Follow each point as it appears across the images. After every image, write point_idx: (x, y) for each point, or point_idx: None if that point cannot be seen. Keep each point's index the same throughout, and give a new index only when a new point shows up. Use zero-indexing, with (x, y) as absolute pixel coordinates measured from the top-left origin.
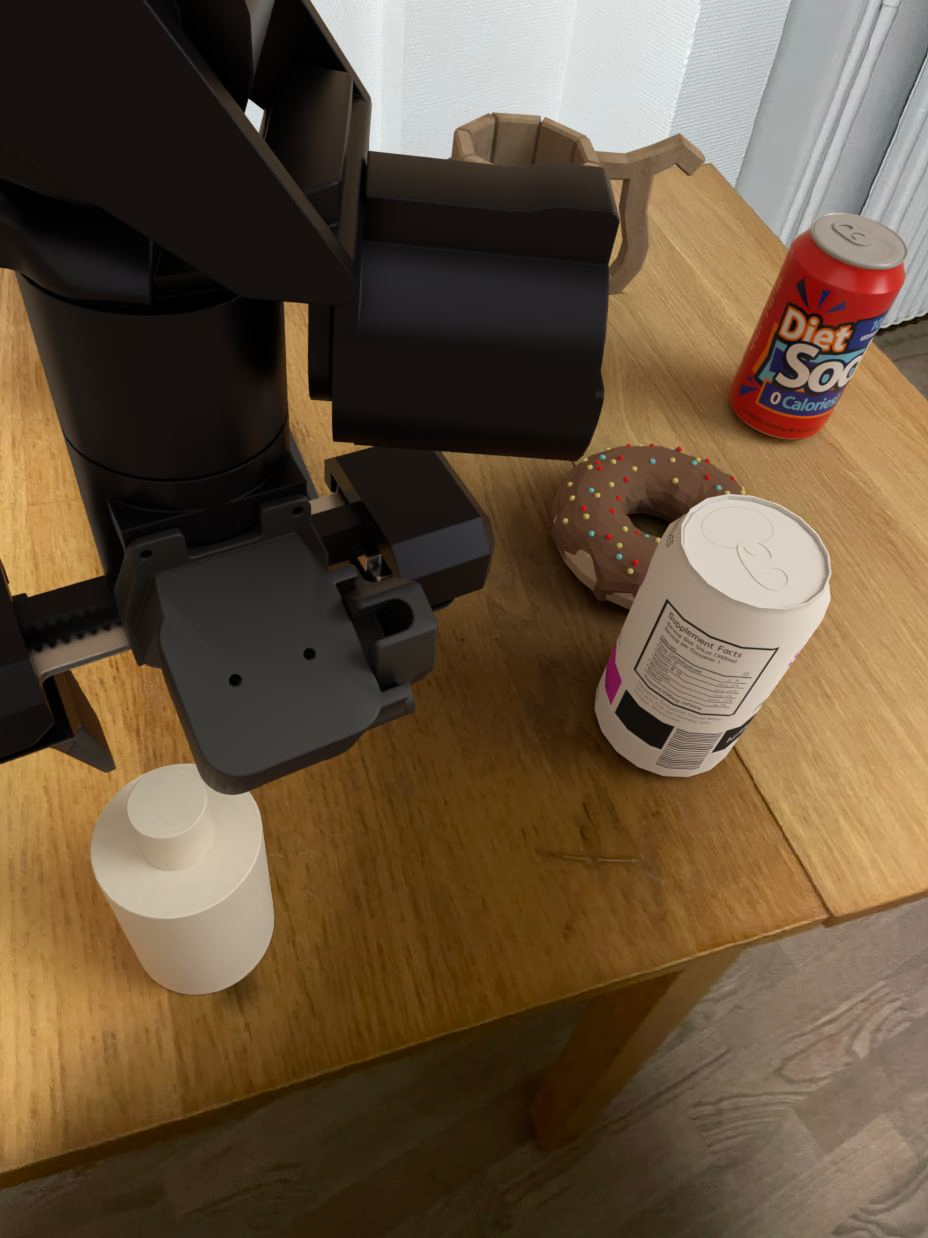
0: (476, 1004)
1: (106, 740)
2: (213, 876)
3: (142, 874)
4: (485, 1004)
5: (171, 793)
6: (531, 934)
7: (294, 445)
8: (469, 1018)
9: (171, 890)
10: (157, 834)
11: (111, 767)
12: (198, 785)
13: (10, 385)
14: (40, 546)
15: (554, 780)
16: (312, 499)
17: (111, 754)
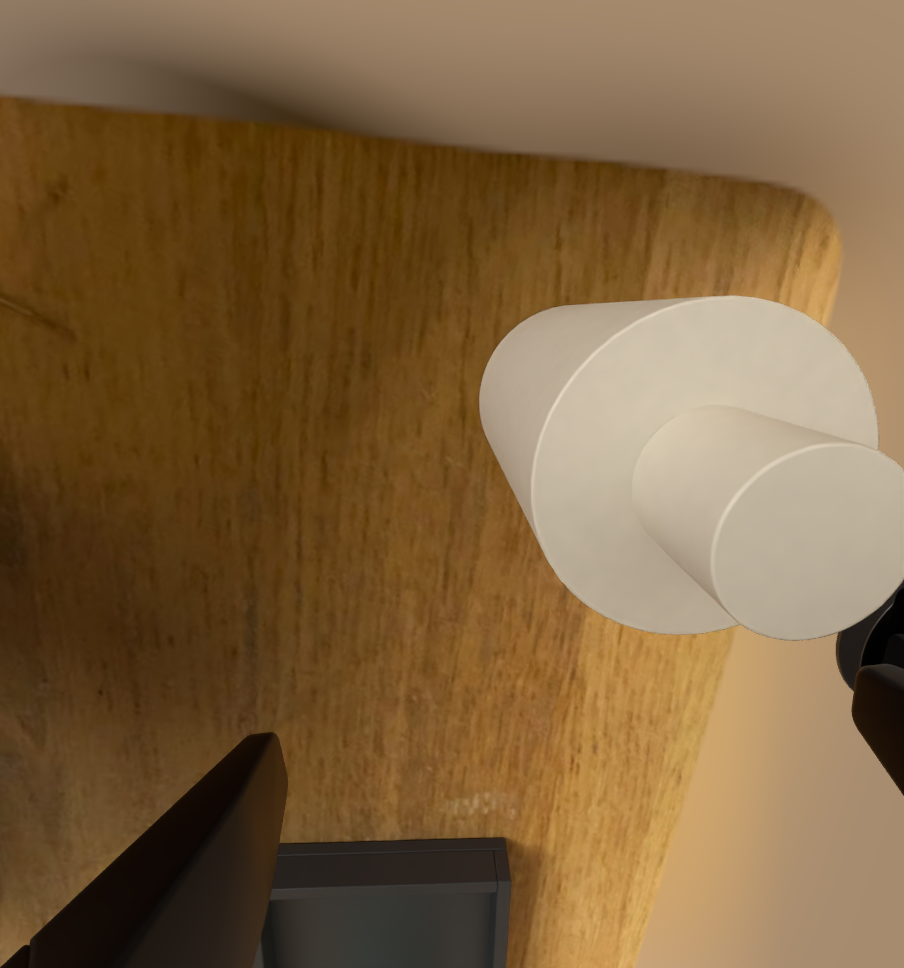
0: (238, 139)
1: (889, 749)
2: (672, 366)
3: (797, 423)
4: (224, 133)
5: (795, 567)
6: (119, 210)
7: None
8: (254, 122)
9: (761, 366)
10: (877, 463)
11: (897, 677)
12: (723, 568)
13: None
14: (612, 929)
15: (11, 437)
16: (259, 954)
17: (888, 710)
